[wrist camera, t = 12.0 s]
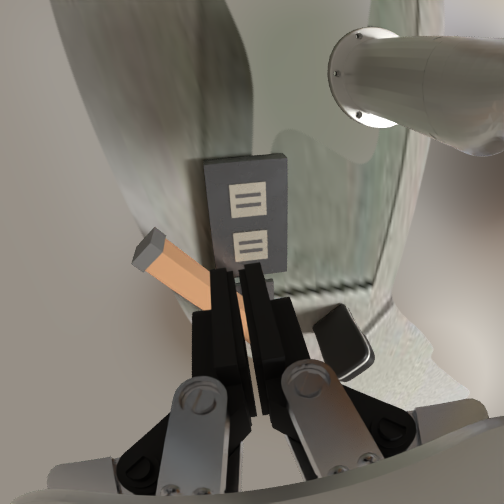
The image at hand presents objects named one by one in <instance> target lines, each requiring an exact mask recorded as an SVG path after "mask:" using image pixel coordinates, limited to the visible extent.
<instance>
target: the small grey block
mask: <svg viewBox="0 0 504 504" xmlns="http://www.w3.org/2000/svg"><path fill="white" fill-rule="evenodd" d="M265 282H266V286H267V290H268V294H269V297H270V300H273V299H274V282H273V279H268V280H265ZM235 285H236V291H237V292H238V293H239V294H240V295H242V291H241V284H240V283H236V284H235Z"/></svg>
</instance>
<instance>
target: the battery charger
mask: <svg viewBox="0 0 504 504" xmlns="http://www.w3.org/2000/svg"><path fill="white" fill-rule="evenodd" d="M313 331H314V333H315V335H316V338H317V341H318V344H319V347H320V350H321V353H322V356H323V359H324V362H325V363H326V364H327V365H329V366H330V367H331V368H332V370H333V371H334V372H335V374H336V376H337V377H338V379H339V380H340V381H342V382H347V381H350V380H351V379H353V378H355V377H356V376H358V375H359V374H361V373H362V372H363V371H365V370H366V369H368V368H369V367H370V366H371V365H372V364H373V363H374V360H375V355H374V352H373V350H372V347H371V345H370V343H369V341H368V340H367V338H366V336H365V335H364V334H363V333H362V332H361V330H360V328H359V327H358V325H357V324H356V322H355V320H354V318H353V316H352V314H351V312H350V310H349V309H348V308H347V306H346V305H344V304H341V305H340V306H339V307H337V308H336V309H335V310H333V311H332V312H331V313H329V314H328V315H327V316H325V317H324V318H323V319H322V320H321V321H319V322H318V323H317V324H316V325H315V326H313Z"/></svg>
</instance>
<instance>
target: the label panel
mask: <svg viewBox="0 0 504 504" xmlns="http://www.w3.org/2000/svg"><path fill="white" fill-rule="evenodd" d="M204 173H205V183H206V192H207V200H208V209H209V218H210V226H211V234H212V242H213V250H214V258H215V265H216V269H219V268H225V267H226V270H227V272H228V271H233V273H234V278H236V277H239V272H238V270H241V269H244V264H251V263H257V262H260V263H261V267H262V271H263V274H269V273H277V272H285V271H287V157H286V156H285V155H284V154H268V155H254V156H242V157H231V158H221V159H211V160H204Z"/></svg>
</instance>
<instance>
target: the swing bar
mask: <svg viewBox="0 0 504 504" xmlns="http://www.w3.org/2000/svg"><path fill="white" fill-rule="evenodd" d="M132 265H134V266H135V267H136V268H138V269H139V270H141V271H142V272H144V271H147V272H148V273H149V274H151V275H152V276H154V277H155V278H156V279H158V280H159V281H161V282H162V283H164V284H165V285H167V286H168V287H169V288H171V289H172V290H174V291H175V292H177V293H178V294H180V295H181V296H183V297H184V298H186V299H187V300H189V301H190V302H192V303H193V304H195V305H196V306H198V307H199V308H201V309H202V310H210V309H211V294H210V272H209V271H208V270H207V269H205V268H204V267H203V266H201V265H200V264H199V263H197V262H196V261H195V260H193V259H192V258H191V257H189V256H188V255H187V254H185V253H184V252H183V251H181V250H180V249H179V248H178V247H176V246H175V245H174V244H172V243H171V242H170V241H168V240H167V239H166V235H165V234H163V233H162V232H161V231H160V230H158V229H157V228H156V227H154V228H153V229H152V230H151V232H150V233H149V234H148V235H147V236H146V237H145V238H144V239H143V240H142V241H141V243H140V244H139V245H138V246H137V247H136V250H135V254H134V257H133V260H132ZM237 297H238V302H239V308H240V314H241V319H242V325H243V331H244V337H245V340H246V341H247V342H248V343H250V339H249V333H248V327H247V321H246V315H245V309H244V303H243V297H242V295H240V294H239V293H238V292H237Z"/></svg>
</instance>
